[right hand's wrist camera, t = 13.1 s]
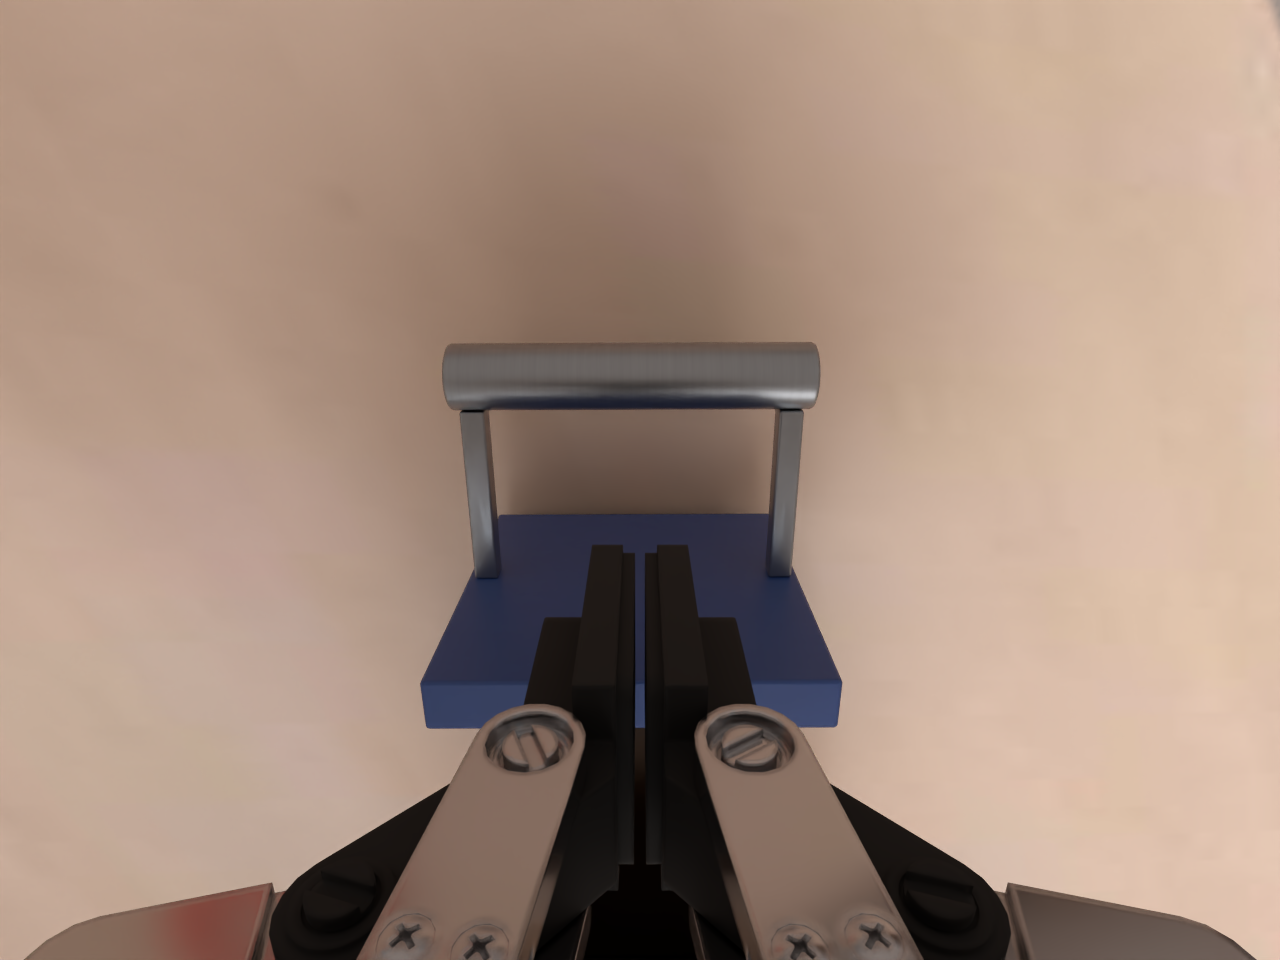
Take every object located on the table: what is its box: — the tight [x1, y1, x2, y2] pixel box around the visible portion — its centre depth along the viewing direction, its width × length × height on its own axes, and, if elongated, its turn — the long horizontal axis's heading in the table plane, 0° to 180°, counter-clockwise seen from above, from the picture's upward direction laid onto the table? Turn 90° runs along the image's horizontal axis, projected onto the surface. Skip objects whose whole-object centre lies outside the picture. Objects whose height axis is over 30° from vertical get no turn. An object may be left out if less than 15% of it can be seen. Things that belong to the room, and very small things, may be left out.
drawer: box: [420, 342, 842, 960], centre depth 21 cm, size 26×9×9 cm, turn 0°
